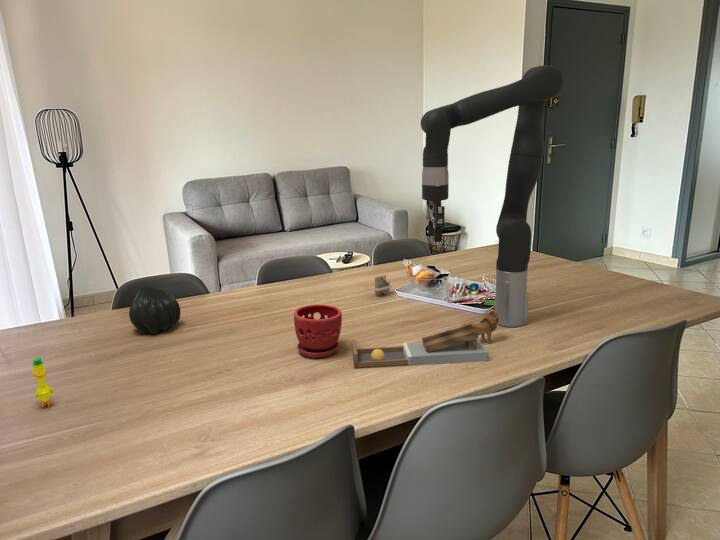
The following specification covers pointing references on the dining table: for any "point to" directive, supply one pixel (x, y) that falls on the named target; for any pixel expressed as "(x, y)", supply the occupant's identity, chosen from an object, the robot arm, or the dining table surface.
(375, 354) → the ball
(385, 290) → the architectural model
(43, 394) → the toy figure
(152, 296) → the squash
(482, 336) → the lion figurine
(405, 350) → the deck
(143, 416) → the dining table surface
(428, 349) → the ramp
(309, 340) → the plant pot
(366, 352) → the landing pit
